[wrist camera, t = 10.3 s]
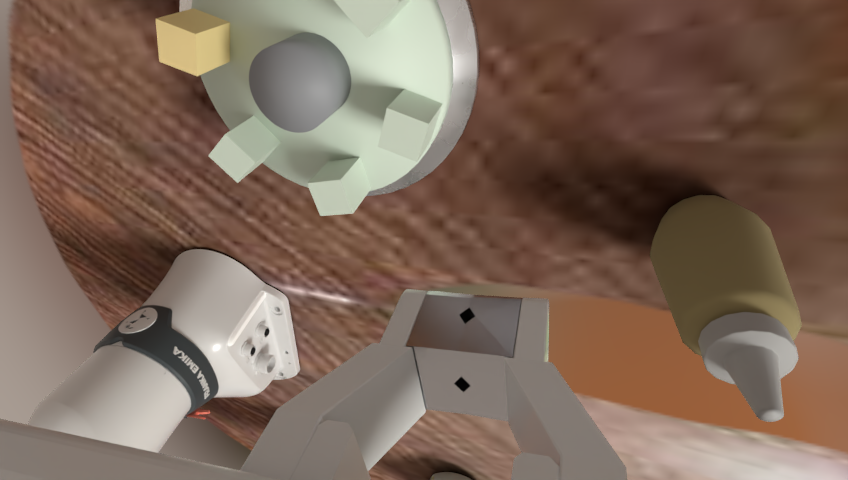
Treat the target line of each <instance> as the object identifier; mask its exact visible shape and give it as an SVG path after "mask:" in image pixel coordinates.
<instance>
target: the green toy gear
mask: <svg viewBox="0 0 848 480" xmlns="http://www.w3.org/2000/svg"><path fill="white" fill-rule="evenodd" d="M156 29H157V40H158V51H159V62H162V63H164V64H167V65H169V66H172V67H174V68H177V69H180V70H182V71H185V72H187V73H190V74H192V75H195V76H199V75H201V79H202V81H203V84H204V86H205V88H206V91H207V93H208V95H209V97H210V99H211V101H212V103H213V105H214V107H215V108H216V110H217V112H218V114H219V115H220V117H221V118H222V120H223V121H224V123H225V124H226V126H227V127H228V128H229V129H230V131H229V132H228V133H226V134H225V135H224V136H223V138H222V139H221V140H220V142H219V143H218V144H217V145H216V147H215V148H214V149H213V150H212V152H211V153H210V154H209V157H210V158H211V159H212V160H213V161H214V162H215V163H217V164H218V165H219V166H220V167H221V168H222V169H223V170H224V171H225V172H226V173H227V174H228V175H230V176H231V177H232V178H233V179H234V180H235V181H236V182H237V183H238V182H239V181H240V180H242V179H243V178H244V177H245V176H247V175H248V174H249V173H250V172H251V171H253V170H254V169H255V168H256V167H258V166H259V165H260V164H261V163H263V164H265V165H266V166H268V167H269V168H270V169H272V170H273V171H275V172H276V173H278V174H280V175H281V176H283V177H285V178H287V179H289V180H291V181H293V182H295V183H297V184H300V185H302V186H305V187H308V188H309V189H310V192H311V194H312V197H313V199H314V201H315V204H316V206H317V209H318V211H319V214H320V216H327V215H339V214H352V213H354V211H355V210H356V209H357V207H358V206H359V205H360V203H361V202H362V201H363V199H364V198H365V196H366V195H367V194H368V192H370V191H373V190H376V189H379V188H383V187H385V186H387V185H389V184H391V183H393V182H395V181H397V180H398V179H400V178H401V177H403V176H404V175H406V174H407V173H408V172H409V171H410V170H411V169H412V168H414V167H415V166H416V165H417V164H418V163H419V161H420V160H421V159H422V158H423V156H424V155H425V154H426V152H427V151H428V149H429V148H430V146H431V144H432V143H433V141H434V139H435V138H436V136H437V134H438V133H439V131H440V129H441V127H442V125H443V122H444V120H445V117H446V115H447V112H448V108H449V104H450V100H451V94H452V86H453V57H452V49H451V42H450V38H449V34H448V30H447V26H446V22H445V19H444V17H443V14H442V12H441V9H440V7H439V4H438V2H437V0H192V7H191V9H189V10H185V11H182V12H178V13H174V14H171V15H167V16H163V17H160V18H156Z"/></svg>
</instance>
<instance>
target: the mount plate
mask: <svg viewBox="0 0 848 480" xmlns="http://www.w3.org/2000/svg"><path fill="white" fill-rule="evenodd" d="M437 2H438V4H439V7H440V9H441V12H442V14H443V17H444V19H445V22H446V26H447V30H448V34H449V38H450V42H451V49H452V57H453V86H452V94H451V100H450V104H449V108H448V112H447V115H446V117H445V120H444V122H443V125H442V127H441V129H440V131H439V133H438V134H437V136H436V138H435V139H434V141H433V143H432V144H431V146H430V148H429V149H428V151H427V152H426V154H425V155H424V156H423V158H422V159H421V160H420V161H419V163H418V164H417V165H416V166H415V167H414V168H412V169H411V170H410V171H409V172H408V173H407V174H406V175H404V176H403V177H401V178H400V179H398V180H397V181H395V182H393V183H391V184H389V185H387V186H385V187H383V188H379V189H376V190H373V191H370V192H368V194H367V195H366V196H369V195H379V194H385V193H390V192H393V191H396V190H399V189H402V188H405V187H407V186H409V185H411V184H413V183H415V182H417V181H419V180H421V179H422V178H423V177H425V176H426V175H428V174H429V173H431V172H432V171H433V170H434V169H435V168H436V167H437V166H438V165H439V164H440V163H441V162H443V161H444V159H445V158H446V157H447V156H448V154H449V153H450V152H451V150H452V149H453V148H454V146H455V145H456V143H457V141H458V139H459V138H460V136H461V134H462V133H463V131H464V129H465V127H466V124H467V122H468V119H469V117H470V114H471V112H472V109H473V105H474V101H475V97H476V93H477V87H478V78H479V44H478V37H477V29H476V24H475V20H474V16H473V13H472V9H471V5H470V2H469V0H437ZM191 7H192V0H180V7H179V12H182V11H185V10H189V9H191Z"/></svg>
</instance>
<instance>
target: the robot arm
mask: <svg viewBox="0 0 848 480" xmlns="http://www.w3.org/2000/svg"><path fill="white" fill-rule="evenodd" d="M548 340H549V300H548V299H540V298H514V297H499V296H484V295H469V294H459V293H448V292H438V291H422V290H412V289H407V290H405V291H404V292H403V293H402V295H401V297H400V299H399V301H398V304H397V306H396V308H395V310H394V312H393V315H392V317H391V319H390V321H389V323H388V325H387V328H386V330H385V332H384V334H383V336H382V339H381V341H380V343H379V344H376V343H372V344H371V345H369V346H368V347H366V348H365V349H363V350H362V351H360V352H359V353H358V354H356V355H355V356H353V357H352V358H350V359H349V360H347V361H346V362H345V363H343V364H342V365H340V366H339V367H337V368H336V369H334V370H333V371H331V372H330V373H329V374H327V375H326V376H324V377H323V378H321V379H320V380H318V381H317V382H316V383H314V384H313V385H311V386H310V387H308V388H307V389H305V390H304V391H302V392H301V393H300V394H298V395H297V396H295V397H294V398H292V399H291V400H289V401H288V402H287V403H285V404H284V405H282V406H281V407H279V408H278V409H277V410H276V412H275V413H274V415H273V417H272V418H271V420H270V422H269V423H268V425H267V426H266V428H265V430H264V431H263V433H262V435H261V436H260V438H259V440H258V441H257V443H256V445H255V446H254V448H253V450H252V451H251V453H250V455H249V456H248V458H247V460H246V462H245V463H244V465H243V466H242V468H241V470H235V469H230V468H226V467H221V466H216V465H212V464H207V463H202V462H198V461H193V460H188V459H184V458H179V457H174V456H170V455H165V454H161V453H158V452H159V451H160V449H161V448H162V446H163V445H164V443H165V442H166V441H167V439H168V438H169V437H170V435H171V434H172V432H173V431H174V430H175V428H176V427H177V426H178V424H179V423H180V422H181V420H182V419H183V418H187V417H194V418H199V419H206V418H205V417H203V416H199V415H198V414H208V413H210V411H209V410H205V409H199V407H201V406H202V405H204V404H205V403H206V402H208V401H209V400H211V399H212V398H213V397H249V396H253V395H256V394H258V393H260V392H262V391H263V390H264V389H265V388H266V387H267V386H268V385H269V384H270V382H271V381H272V380H279V379H287V378H291V377H294V376H296V375H297V373H298V372H299V371H300V366H299V360H298V354H297V348H296V342H295V336H294V331H293V325H292V319H291V313H290V308H289V302H288V299H287V297H286V296H285V295H284V294H283V293H281V292H280V291H278V290H276V289H275V288H273V287H271V286H269V285H267V284H265V283H264V282H262V281H261V280H260V279H259V278H258V277H257V276H256V275H254V274H253V273H252V272H251V271H250V270H249V269H247V268H246V267H245V266H243V265H242V264H240V263H239V262H237V261H235V260H234V259H232V258H230V257H228V256H225V255H223V254H220V253H217V252H214V251H210V250H204V249H193V250H188V251H185V252H183V253H181V254H180V255H178V256H177V258H176V259H175V261H174V263H173V264H172V266H171V268H170V270H169V271H168V273H167V274H166V276H165V277H164V279H163V280H162V282H161V283H160V284H159V286H158V287H157V288H156V289H155V291H154V292H153V293H152V294H151V296H150V297H149V298H148V299H147V300H146V302H145V303H144V304H143V305H142V306H141V307H140V308H138V309H137V310H135V311H134V312H133V313H131V314H130V315H129V316H127V317H126V318H125V319H124V320H122V321H121V322H120V323H119V324H118V325H117V326H116V327H115V328H114V329H113V330H111V331H110V332H109V333H108V334H107V335H106V336H105V337H104V338H103V339H102V340H101V341H100V342H99V343H98V344H97V345H96V346H95V349H94V354H93V355H92V356H90V357H89V358H88V359H87V360H86V361H85V362H84V363H83V364H82V365H81V366H79V367H78V368H77V369H76V370H75V371H74V372H73V373H72V374H71V375H70V376H69V377H67V378H66V379H65V381H63V382H62V383H61V384H60V385H59V386H58V387H57V388H56V389H55V390H53V392H51V393H50V394H49V395H48V396H47V397H46V398H45V399H44V400H43V401H42V402H41V403H40V404H39V405H38V406H37V407H36V409H35V410H34V412H33V414H32V416H31V418H30V420H29V423H28V425H26V424H22V423H17V422H12V421H8V420H3V419H0V480H371V479H370V476H369V473H368V471H369V470H370V469H371V468H372V467H373V466H374V465H375V464H376V463H377V462H378V461H379V460H380V459H381V458H382V457H383V455H384V454H385V453H386V452H387V451H388V450H389V449H390V448H391V447H392V446H393V445H394V444H395V443H396V442H397V441H398V440H399V439H400V438H401V437H402V436H403V435H404V434H405V433H406V432H407V431H408V430H409V429H410V428H411V427H412V426H413V425H414V424H415V423H416V422H417V420H418V419H419V418H420V417H421V416H422V415H423V414H424V413H425V412H426V409H428V410H436V411H445V412H453V413H461V414H469V415H474V416H480V417H486V418H491V419H497V420H503V421H508V422H509V426H510V428H511V430H512V432H513V434H514V437H515V439H516V441H517V443H518V445H519V448H520V450H521V452H522V453H521V454H520V455H518V456H517V457H515V458H514V463H513V470H512V478H511V480H627V472H626V467H625V465H624V464H623V462H622V461H621V460H620V458H619V457H618V455H617V454H616V452H615V451H614V450H613V448H612V447H611V445H610V444H609V443H608V441H607V440H606V438H605V437H604V435H603V434H602V433H601V431H600V430H599V428H598V427H597V425H596V424H595V423H594V421H593V420H592V418H591V417H590V416H589V414H588V413H587V411H586V410H585V408H584V407H583V406H582V404H581V403H580V401H579V400H578V399H577V397H576V396H575V394H574V393H573V391H572V390H571V389H570V387H569V386H568V384H567V383H566V382H565V380H564V379H563V377H562V376H561V374H560V373H559V372H558V370H557V369H556V367H555V366H554V364H553V363H551V362H548V343H549V341H548Z"/></svg>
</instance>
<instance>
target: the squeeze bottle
mask: <svg viewBox="0 0 848 480" xmlns="http://www.w3.org/2000/svg"><path fill="white" fill-rule="evenodd" d="M650 258H651V261H652V264H653V267H654V269H655V272H656V275H657V277H658V280H659V282H660V285H661V288H662V290H663V293H664V295H665V298H666V300H667V303H668V305H669V308H670V310H671V313H672V316H673V318H674V320H675V323H676V326H677V328H678V330H679V333H680V336H681V339H682V341H683V343H684V344H685V345H687V346H688V347H689V348H690V349H691V350H692V351H693V352H694V353H696V354H698V355H701V356H702V358H703V361H704V364H705V367H706V369H707V370H708V371H709V372H710V373H711V374H712V375H713V376H714V377H716V378H718V379H720V380H723V381H726V382H728V383H730V384H736V385H737V387H738V388H739V390H740V391H741V393H742V395H743V396H744V398H745V399H746V401H747V402H748V404H749V405H750V407H751V408H752V410H753V411H754V413H755V414H756V416H757V417H758V418H759V419H760V420H763V421H768V422H772V421H777V420H780V419H781V418H783V416H784V412H783V402H782V393H781V383H780V379H781V378H782V377H784V376H785V375H786V374H788V373H789V372H790V371H792V370H793V368H794V367H795V365H796V363H797V361H798V353H797V348H796V346H795V344H794V342H793V341H794V340H795V338H796V336H797V334H798V332H799V330H800V328H801V326H802V324H801V319H800V314H799V309H798V307H797V304H796V301H795V298H794V295H793V292H792V290H791V287H790V284H789V281H788V278H787V276H786V273H785V270H784V267H783V264H782V261H781V259H780V256H779V253H778V250H777V247H776V244H775V242H774V239H773V236H772V233H771V230H770V228H769V227H768V226H767V225H766V224H765V223H764V222H763V221H762V220H761V219H760V218H759V217H758V216H757V215H756V214H755V213H753V212H751V211H749V210H747V209H745V208H743V207H741V206H739V205H737V204H735V203H734V202H732V201H730V200H727V199H724V198H722V197H719V196H716V195H697V196H694V197H690V198H686V199H683V200H681V201H680V202H678V203H677V204H675V205H674V206H672V207H670V208H669V210H668V211H667V212H666V214H665V215H664V216H663V218H662V219H661V222H660V224H659V226H658V229H657V231H656V233H655V236H654V238H653V242H652V247H651V252H650Z"/></svg>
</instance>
